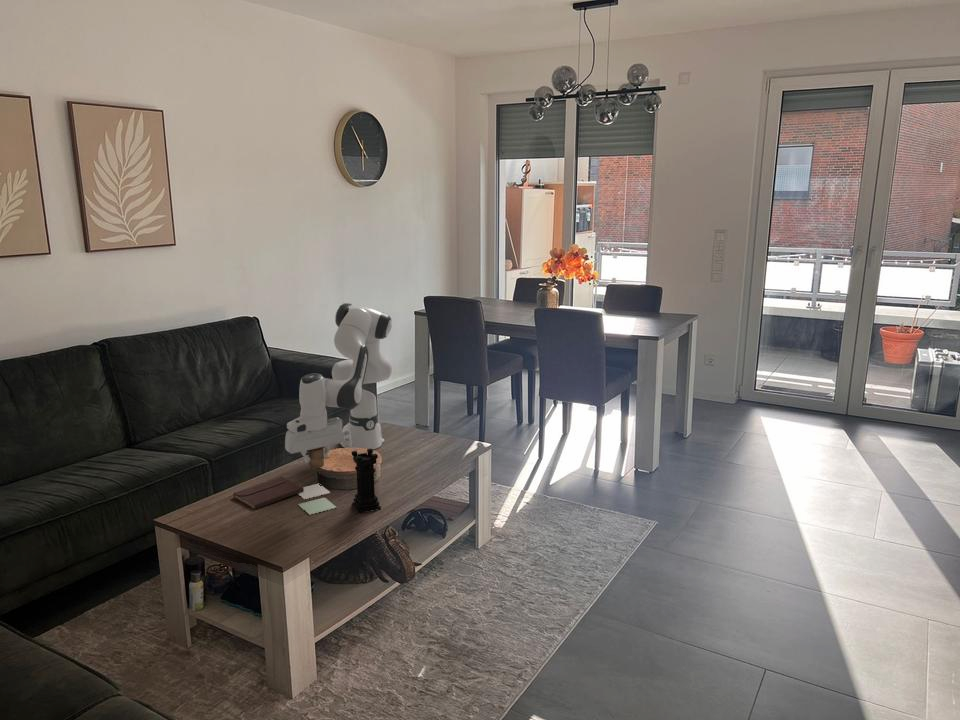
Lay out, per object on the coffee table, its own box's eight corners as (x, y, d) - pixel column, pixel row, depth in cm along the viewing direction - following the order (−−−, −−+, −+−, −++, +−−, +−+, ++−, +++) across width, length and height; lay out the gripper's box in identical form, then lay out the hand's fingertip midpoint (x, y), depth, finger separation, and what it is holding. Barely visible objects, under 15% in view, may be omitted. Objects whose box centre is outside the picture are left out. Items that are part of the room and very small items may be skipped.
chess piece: (374, 500, 253) (372, 447, 248) (380, 509, 246) (379, 455, 241) (352, 504, 250) (350, 451, 245) (358, 513, 243) (356, 458, 238)
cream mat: (293, 490, 261) (293, 489, 261) (319, 484, 267) (319, 483, 267) (304, 499, 253) (304, 498, 253) (330, 493, 259) (330, 492, 259)
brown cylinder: (306, 465, 244) (305, 448, 243) (320, 461, 247) (319, 445, 246) (312, 469, 240) (311, 452, 239) (326, 466, 243) (325, 449, 242)
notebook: (304, 491, 259) (303, 486, 259) (255, 509, 245) (254, 504, 245) (281, 480, 269) (281, 475, 268) (233, 497, 255) (233, 492, 254)
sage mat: (298, 505, 249) (298, 504, 249) (324, 498, 254) (324, 497, 254) (309, 515, 241) (309, 514, 241) (336, 508, 247) (336, 507, 246)
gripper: (338, 414, 249) (339, 451, 252) (282, 424, 237) (284, 463, 240) (346, 418, 244) (347, 456, 247) (289, 429, 232) (291, 469, 235)
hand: (316, 459), depth 243 cm, fingers closed on brown cylinder, 5 cm apart
